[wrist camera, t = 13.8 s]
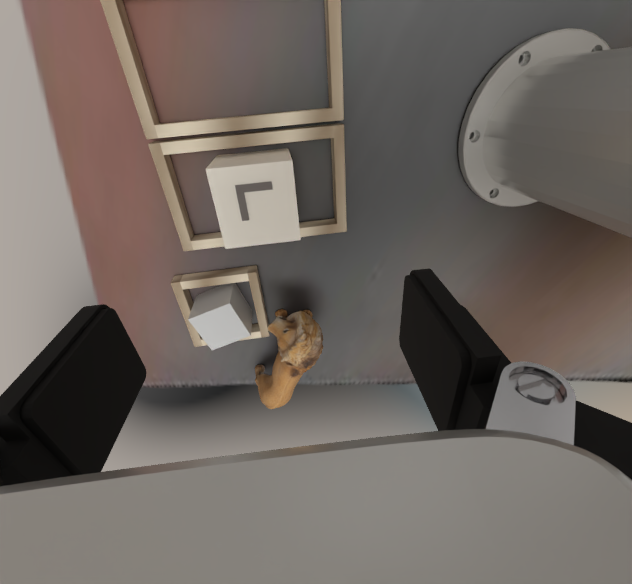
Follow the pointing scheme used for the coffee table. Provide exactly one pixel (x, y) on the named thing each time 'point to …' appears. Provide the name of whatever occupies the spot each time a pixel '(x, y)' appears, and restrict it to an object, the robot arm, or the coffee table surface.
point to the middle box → (166, 147)
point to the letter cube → (255, 197)
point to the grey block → (221, 316)
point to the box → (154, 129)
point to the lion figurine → (289, 356)
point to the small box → (220, 277)
